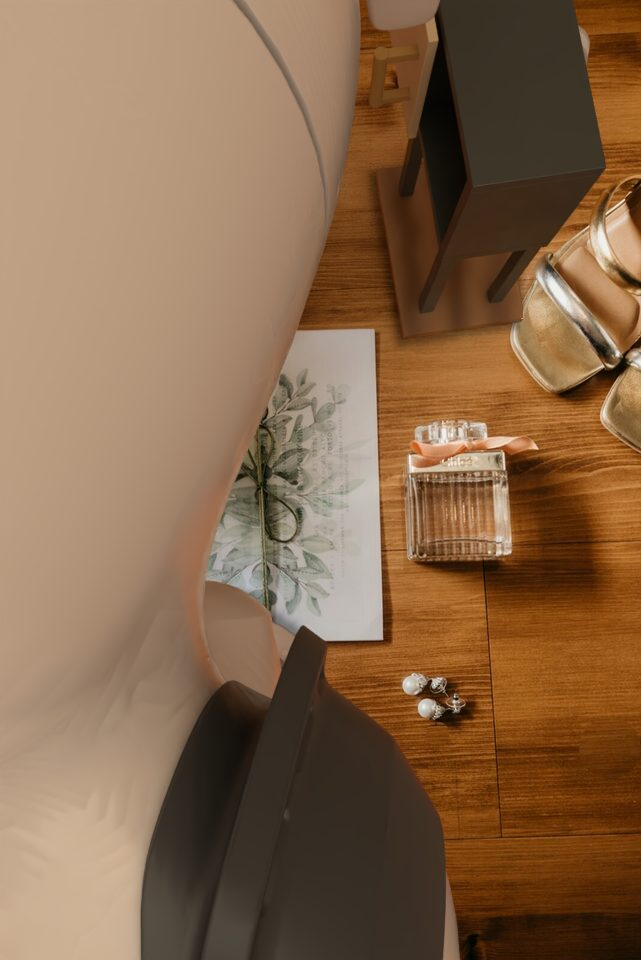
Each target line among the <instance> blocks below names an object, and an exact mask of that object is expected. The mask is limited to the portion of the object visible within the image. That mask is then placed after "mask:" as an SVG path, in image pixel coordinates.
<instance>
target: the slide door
mask: <svg viewBox="0 0 641 960" xmlns="http://www.w3.org/2000/svg"><path fill="white" fill-rule="evenodd" d="M388 32H389V37H390V44H391V47H388V48H387V47H385V46H377V47H376V48H375V49H374V50H373V56H372V66H371V75H370V85H369V94H368V105H369V107H371V108H373V109H378V108H380V107H381V106H382V105H389V104H394V103H400V102H401V107H402V112H403V119H404V124H405V125H404V126H405V131H406V136H407V139H411V138H416V135H417V131H418V127H419V123H420V118H421V114H422V110H423V105H424V101H425V97H426V92H427V88H428V84H429V79H430V75H431V71H432V66H433V62H434V58H435V54H436V49H437V45H438V41H439V40H438V34H437V29H436V23H435V17H433V18H432V19H431V20H430V21H428V22H427V23H424V24H422V25H419V26H415V27H410V28H406V29H399V30H390V31H388ZM389 64H394V67H395V72H396V78H397V83H398V88H393V89H386V90H385V84H386V77H387V70H388V65H389Z"/></svg>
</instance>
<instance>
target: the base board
mask: <svg viewBox="0 0 641 960" xmlns="http://www.w3.org/2000/svg"><path fill="white" fill-rule="evenodd" d="M402 167H403V165H402V166H395V167H393V166H392V167H388V168H381V169H376V170H375V176H374V177H375V183H376V190H377V195H378V201H379V202H378V203H379V207H380V214H381V219H382V225H383V232H384V237H385V243H386V247H387V255H388V262H389V267H390V273H391V279H392V285H393V291H394V297H395V302H396V303H395V304H396V308H397V309H396V310H397V315H398V321H399V326H400V332H401V338H402V339H401V340H407V339H415V338H420V337H427V336H433V335H441V334H446V333H447V334H448V333H453V332H461V331H467V330H474V329H481V328H487V327H494V326H501V325H509V324H514V323H521V322H523V320H524V319H521V318H523V310H524V306H523V301H522V295H521V289H520V283H519V279H518V280H517V281H516V283H515V284H514V286H513V287H512V288H511V290H510V291H509V292H508V294H507V295H506V296H505V298H504V299H503V300H502V301H500V302H494V303H489V298H488V292H487V291H488V289H489V288H490V286H491V285H492V283H493V281H494V280H495V278H496V277H497V275H498V274H499V272H500V271H501V269H502V268H503V266H504V265H505V263H506V261H507V260H508V258H509V257H510V255H511V254H512V252H507V253H501V254H494V255H487V256H480V257H474V258H467V259H460V260H457V262H456V264H455V267H454V269H453V271H452V273H451V275H450V277H449V279H448V281H447V283H446V285H445V288H444V290H443V292H442V294H441V296H440V298H439V300H438V302H437V304H436V306H435V309H434V311H433V312H428V313H421V314H420V309H419V303H418V300H419V298H420V295H421V293H422V290H423V288H424V285H425V283H426V280H427V278H428V275H429V273H430V270H431V268H432V265H433V263H434V260H435V258H436V255H437V252H438V250H439V247H438V242H437V236H436V230H435V224H434V219H433V213H432V207H431V201H430V196H429V190H428V184H427V178H426V173H425V167H424V162H422V163H421V166H420V170H419V174H418V178H417V182H416V185H415V189H414V193H413V195H412V196H405V197H400V191H399V181H400V176H401V172H402Z"/></svg>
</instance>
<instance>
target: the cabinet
mask: <svg viewBox="0 0 641 960" xmlns="http://www.w3.org/2000/svg"><path fill="white" fill-rule="evenodd" d="M434 17H435V23H436V29H437V34H438V40H439V41H438V45H437V49H436V54H435V58H434V62H433V66H432V71H431V75H430V79H429V84H428V88H427V92H426V97H425V101H424V105H423V110H422V114H421V118H420V123H419V127H418V131H417V135H416V138H411V139H408V138H407V139H408V140H407V145H406V148H405V154H404V157H403V163H402V166H403V167H402V172H401V176H400V181H399V191H400V197H405V196H412V195H413V193H414V189H415V185H416V182H417V178H418V174H419V170H420V166H421V163H424V167H425V173H426V178H427V184H428V190H429V196H430V201H431V207H432V213H433V219H434V224H435V230H436V236H437V242H438V247H439V250H438V252H437V255H436V258H435V260H434V263H433V265H432V268H431V270H430V273H429V275H428V278H427V280H426V283H425V285H424V288H423V290H422V293H421V295H420V298H419V300H418V303H419V309H420V314H421V313H428V312H433V311H434V309H435V306H436V304H437V302H438V300H439V298H440V296H441V294H442V292H443V290H444V288H445V285H446V283H447V281H448V279H449V277H450V275H451V273H452V271H453V269H454V267H455V264H456V262H457V260H460V259H467V258H474V257H480V256H487V255H494V254H501V253H507V252H512V254H511V255H510V257H509V258H508V260H507V261H506V263H505V265H504V266H503V268H502V269H501V271H500V272H499V274H498V275H497V277H496V278H495V280H494V281H493V283H492V285H491V286H490V288H489V289H488V291H487V292H488V298H489V303H494V302H500V301H502V300H503V299H504V298H505V296H506V295H507V294H508V292H509V291H510V290H511V288H512V287H513V286H514V284H515V283H516V281H517V280H518V281H519V279H520V277H521V276H522V275H523V274H524V272H525V271H526V270H527V268H528V267H529V265H530V264H531V263H532V261H533V260H534V258H535V257H536V256H537V255H538V253H539V252H540V250H542V248H547V247H548V246H549V245H550V243H551V242H552V241H553V239H554V238H555V237H556V236H557V234H558V233H559V232H560V231H561V229H562V228H563V226H564V225H565V224H566V222H567V221H568V220H569V218H570V217H571V216H572V215H573V213H574V212H575V211H576V209H577V208H578V207H579V205H580V204H581V202H583V200H584V198H585V197H586V196H587V194H588V193H589V192H590V190H591V189H592V188H593V186H595V184H596V182H597V181H598V180H599V178H600V177H601V176H602V174H603V173H604V172H605V170H606V169H607V163H606V158H605V153H604V148H603V142H602V137H601V133H600V128H599V122H598V117H597V113H596V107H595V102H594V98H593V92H592V87H591V82H590V78H589V73H588V67H587V64H586V62H585V57H584V52H583V47H582V41H581V36H580V31H579V26H580V25H579V22H578V21H579V20H578V17H577V11H576V6H575V3H574V0H440V3H439V6H438V9H437V12H436V14H435V15H434Z"/></svg>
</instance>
